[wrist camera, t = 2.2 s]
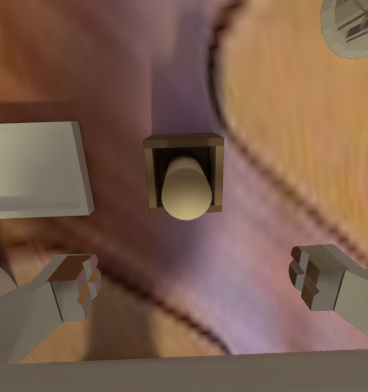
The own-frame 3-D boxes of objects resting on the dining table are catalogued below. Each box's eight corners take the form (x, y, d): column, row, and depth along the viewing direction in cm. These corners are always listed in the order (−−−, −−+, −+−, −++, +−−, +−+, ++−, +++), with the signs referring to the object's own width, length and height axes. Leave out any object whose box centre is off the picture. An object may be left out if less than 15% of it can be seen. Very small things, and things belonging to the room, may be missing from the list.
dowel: (198, 180, 29) (211, 219, 18) (169, 181, 29) (163, 220, 18) (198, 150, 28) (212, 171, 16) (167, 151, 28) (159, 173, 16)
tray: (94, 209, 31) (89, 215, 29) (-32, 214, 31) (-45, 220, 29) (78, 121, 27) (70, 121, 25) (-67, 126, 27) (-86, 126, 25)
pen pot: (212, 191, 30) (221, 211, 24) (156, 193, 30) (149, 214, 24) (213, 133, 28) (224, 137, 21) (151, 135, 28) (142, 140, 21)
